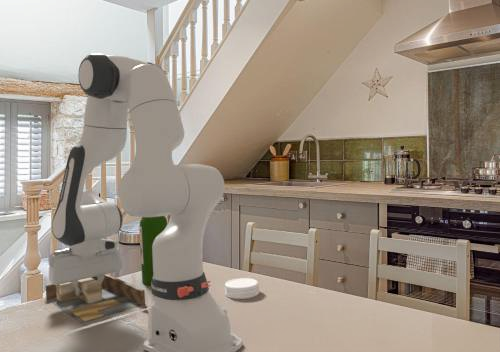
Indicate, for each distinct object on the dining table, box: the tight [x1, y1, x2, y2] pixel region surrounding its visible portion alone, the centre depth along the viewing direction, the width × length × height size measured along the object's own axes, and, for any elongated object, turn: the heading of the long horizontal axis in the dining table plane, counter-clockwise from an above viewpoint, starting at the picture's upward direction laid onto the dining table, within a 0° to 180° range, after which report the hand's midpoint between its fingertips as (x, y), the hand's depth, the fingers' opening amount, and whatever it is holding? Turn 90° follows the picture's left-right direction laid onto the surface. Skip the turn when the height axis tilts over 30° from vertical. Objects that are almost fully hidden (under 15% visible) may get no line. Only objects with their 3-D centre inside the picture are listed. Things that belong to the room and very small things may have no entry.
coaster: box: [224, 277, 260, 300], centre depth 125 cm, size 10×10×4 cm
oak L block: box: [56, 278, 102, 303], centre depth 124 cm, size 11×9×5 cm
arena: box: [45, 274, 146, 324], centre depth 122 cm, size 27×18×5 cm, turn 42°
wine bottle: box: [138, 216, 168, 286], centre depth 138 cm, size 9×9×32 cm
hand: (88, 292), depth 125 cm, fingers closed on oak L block, 4 cm apart
